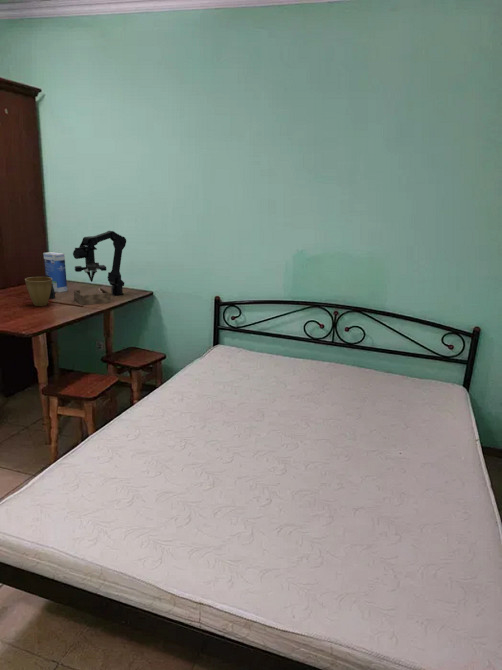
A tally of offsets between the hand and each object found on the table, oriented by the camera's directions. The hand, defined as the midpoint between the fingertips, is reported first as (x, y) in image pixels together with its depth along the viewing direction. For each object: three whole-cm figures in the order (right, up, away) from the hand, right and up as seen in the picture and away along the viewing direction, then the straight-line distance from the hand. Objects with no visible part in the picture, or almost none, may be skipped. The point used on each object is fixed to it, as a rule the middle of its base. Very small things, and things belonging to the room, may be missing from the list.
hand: (91, 281), depth 299 cm
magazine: (-31, -11, +2) cm, 33 cm away
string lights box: (-32, -4, +24) cm, 40 cm away
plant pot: (-26, -16, -14) cm, 34 cm away
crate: (0, -12, 0) cm, 12 cm away
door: (+4, -11, +5) cm, 12 cm away
